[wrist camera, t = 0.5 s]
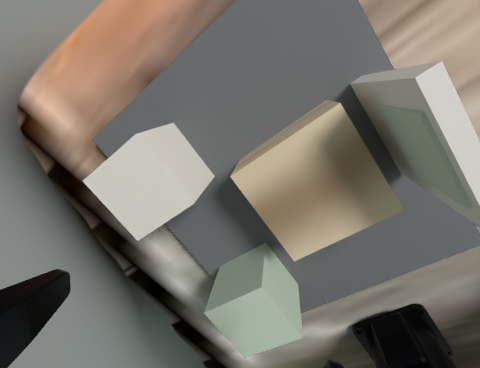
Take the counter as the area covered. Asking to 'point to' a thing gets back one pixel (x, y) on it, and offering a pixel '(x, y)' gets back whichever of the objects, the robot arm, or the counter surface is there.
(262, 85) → the mat
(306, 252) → the oak base block
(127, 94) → the counter surface
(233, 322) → the sage cube
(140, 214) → the cream cube
